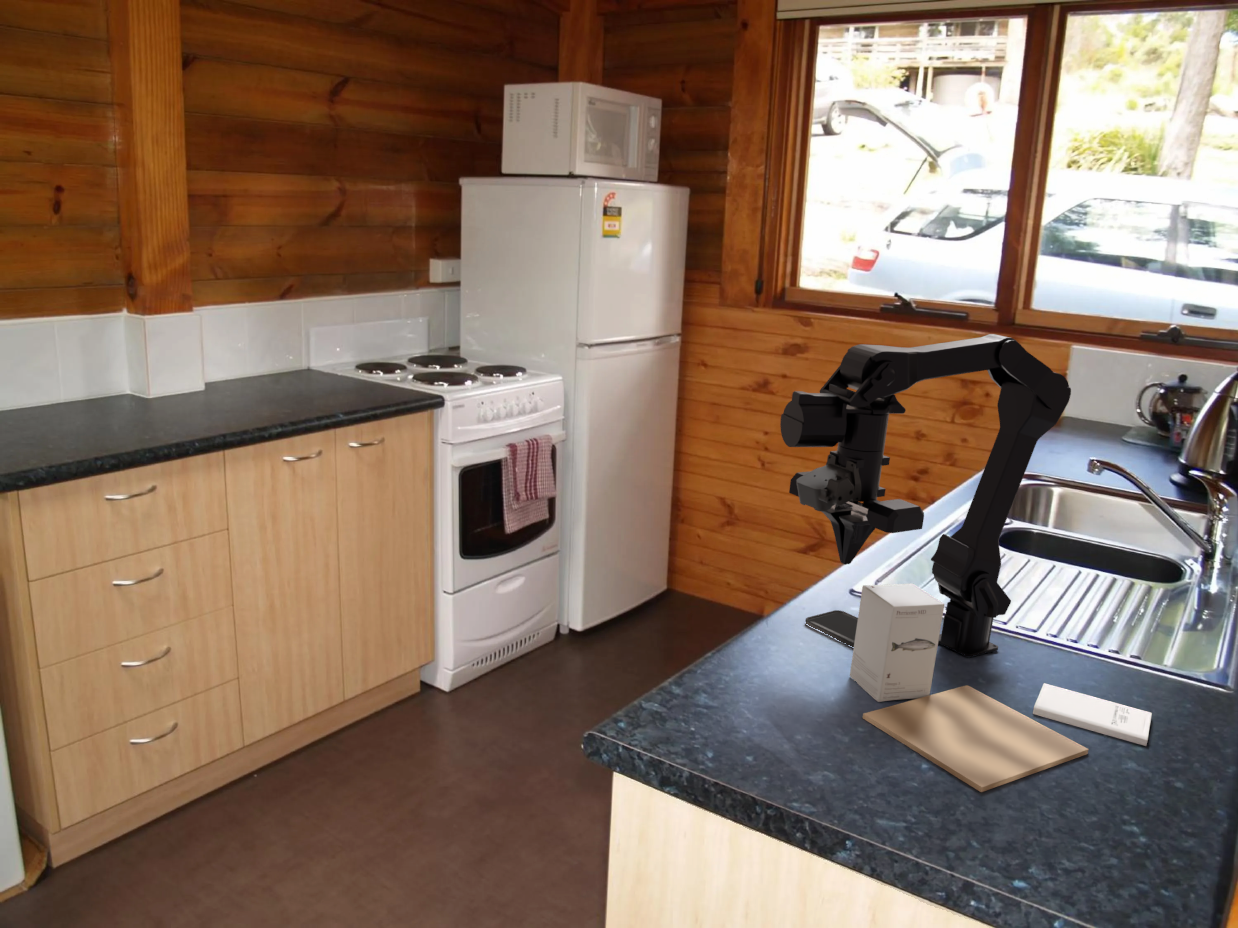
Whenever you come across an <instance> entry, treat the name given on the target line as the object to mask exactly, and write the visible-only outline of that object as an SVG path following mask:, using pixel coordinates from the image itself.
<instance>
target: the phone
mask: <svg viewBox="0 0 1238 928" xmlns="http://www.w3.org/2000/svg"><path fill="white" fill-rule="evenodd" d="M805 622H806V624H808V625H809V626H811V627H813V628H815V629H818V630H820V631H822V632H824V633H825V634H828V635H830V636H832V637H833V638H836V639H837V640H839V641H841V642H843V643H846V644H847V645H850V646H852V647H854V642H855V635H856V628H857V622H858V616H855V615H853V614H850V613H848V612H846V611H844V610H840V609H839V610H837V609H835V610H831V611H828V612H823V613H820V614H816V615H812V616H808V617H805Z"/></svg>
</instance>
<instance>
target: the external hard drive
mask: <svg viewBox="0 0 1238 928" xmlns="http://www.w3.org/2000/svg"><path fill="white" fill-rule="evenodd" d="M1152 714H1153V713H1152V712H1150V711H1146V710H1143V709H1139V708H1135V707H1131V706H1129V705H1128V706H1127V705H1124V704H1121V703H1118V702H1114V701H1110V700H1106V699H1103V698H1099V697H1095V696H1092V695H1089V694H1085V693H1082V692H1077V691H1076V690H1075V691H1074V690H1070V689H1066V688H1063V687H1060V686H1056V685H1052V684H1048V683H1045V682H1044V683H1043V684H1042V687H1041V689H1040V691H1039V694H1038V696H1037V699H1036V701H1035V703H1034V706H1033V710H1032V715H1035V716H1040V717H1043V718H1046V719H1050V720H1053V721H1057V722H1060V723H1062V724H1067V725H1070V726H1074V727H1077V728H1081V729H1085V730H1089V731H1093V732H1094V733H1099V734H1103V735H1106V736H1110V737H1113V738H1117V739H1120V740H1122V741H1123V740H1124V741H1127V742H1130V743H1133V744H1138V745H1141V746H1145V747H1147V743H1148V740H1149V733H1150V727H1151V721H1152V716H1153V715H1152Z"/></svg>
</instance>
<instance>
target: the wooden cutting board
mask: <svg viewBox="0 0 1238 928" xmlns="http://www.w3.org/2000/svg"><path fill="white" fill-rule="evenodd" d="M862 719H863V720H864V721H866V722H868V723H870V724H871V725H873V726H875V727H876V728H877V729H879V730H881V731H882V732H884V733H886V734H888V735H889V736H890V737H892V738H893V739H894V740H896V741H898V742H900V743H901V744H903V745H905V746H906V747H908V748H910V750H912V751H914V752H916V753H918V754H919V755H920V756H922V757H924V758H925V759H927V760H928V761H930V762H932V763H933V764H935V765H937V766H938V767H940V768H941V769H943V770H945V771H946V772H948V774H951V775H952V776H953V777H956V778H957V779H959V780H960V781H962V782H963V783H966V784H967V785H969V786H970V787H972V788H973V789H974V790H976V791H979V792H980V793H985V792H986V791H989V790H992V789H994V788H998V787H1000V786H1003V785H1006V784H1008V783H1011V782H1014V781H1016V780H1019V779H1022V778H1024V777H1028V776H1031V775H1034V774H1036V773H1038V772H1042V771H1045V770H1047V769H1049V768H1053V767H1055V766H1058V765H1061V764H1063V763H1066V762H1069V761H1072V760H1074V759H1077V758H1080V757H1083V756H1087V755H1088V754H1089V748H1087V747H1085V746H1084V745H1081V744H1080V743H1077V742H1076V741H1074V740H1072V739H1070V738H1068V737H1067V736H1065V735H1063V734H1061V733H1058V732H1057V731H1055V730H1053V729H1051V728H1049V727H1047V726H1046V725H1044V724H1041V723H1039V722H1037V721H1036V720H1034V719H1033V718H1031V717H1028V716H1027V715H1024V714H1022V713H1021V712H1019V711H1017V710H1015V709H1014V708H1011V706H1010V707H1009V706H1008V705H1006V704H1004V703H1002V702H1000V701H998V700H996V699H994V698H993V697H990V696H988V695H986V694H984V693H983V692H981V691H979V690H977V689H976V688H973V687H972V686H970V685H962V686H958V687H956V688H951V689H948V690H944V691H941V692H937V693H933V694H930V695H929V696H926V697H922V698H914V699H910V700H908V701H905V702H901V703H897V704H894V705H890V706H886V707H882V708H878V709H875V710H870V711H868V712H864V713H862Z"/></svg>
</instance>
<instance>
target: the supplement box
mask: <svg viewBox="0 0 1238 928" xmlns="http://www.w3.org/2000/svg"><path fill="white" fill-rule="evenodd" d="M861 587H862V588H861V595H860V601H859V607H858V609H859V610H858V616H857V618H858V622H857V628H856V635H855V642H854V649H853V648H852V649H853V652H852V656H851V657H852V659H851V663H850V672H849V677H850V678H851V679H852V680H853V679H854V680H853V681H854V682H855V681H856V682H857V683H856V682H855V683H856V684H858V686H859V687H861V688H862V689H863V691H865V692H866V693H867V694H869V696H871V697H872V698H873V699H874V700H875V701H876V702H878V703H881V702H887V701H888V702H889V701H899V700H915V699H918V698H922V697H926V696H929V695H931V688H932V682H933V677H934V670H935V666H936V665H935V663H936V658H937V651H938V648H939V647H938V645H939V643H938V641H939V635H940V634H941V630H942V628H941V627H942V623H943V618H944V610H945V603H944V602H943V601H941V600H939V599H938V598H937V597H935V596H933V595H931V594H930V593H929V592H927V591H925V590H924V589H922V588H921V587H919V586H917V585H916V584H914V583H895V584H894V583H892V584H867V585H866V584H865V585H862V586H861Z"/></svg>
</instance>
